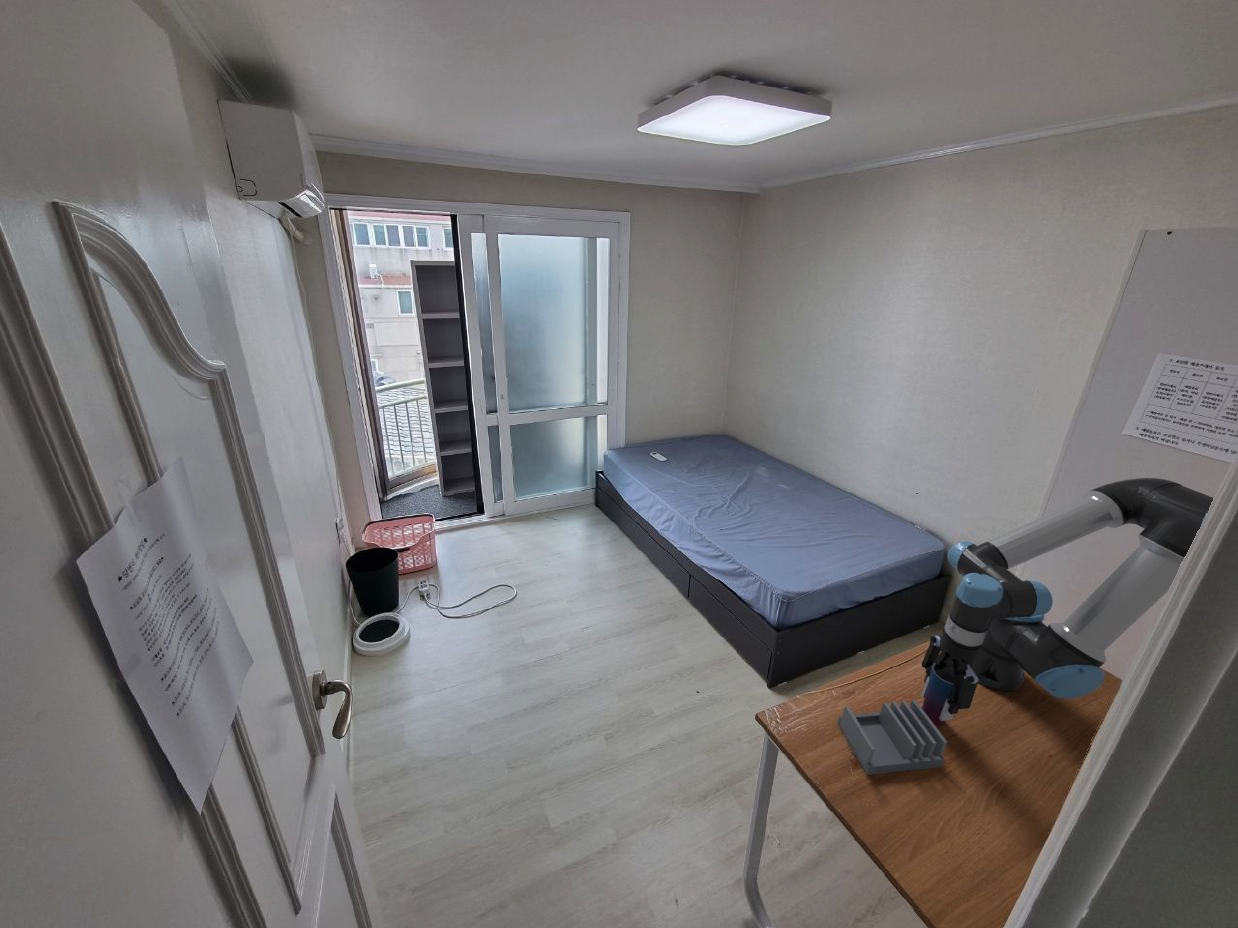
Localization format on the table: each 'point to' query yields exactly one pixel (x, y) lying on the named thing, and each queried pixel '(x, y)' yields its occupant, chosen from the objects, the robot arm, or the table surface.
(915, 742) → the rack
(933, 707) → the cup
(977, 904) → the table surface
